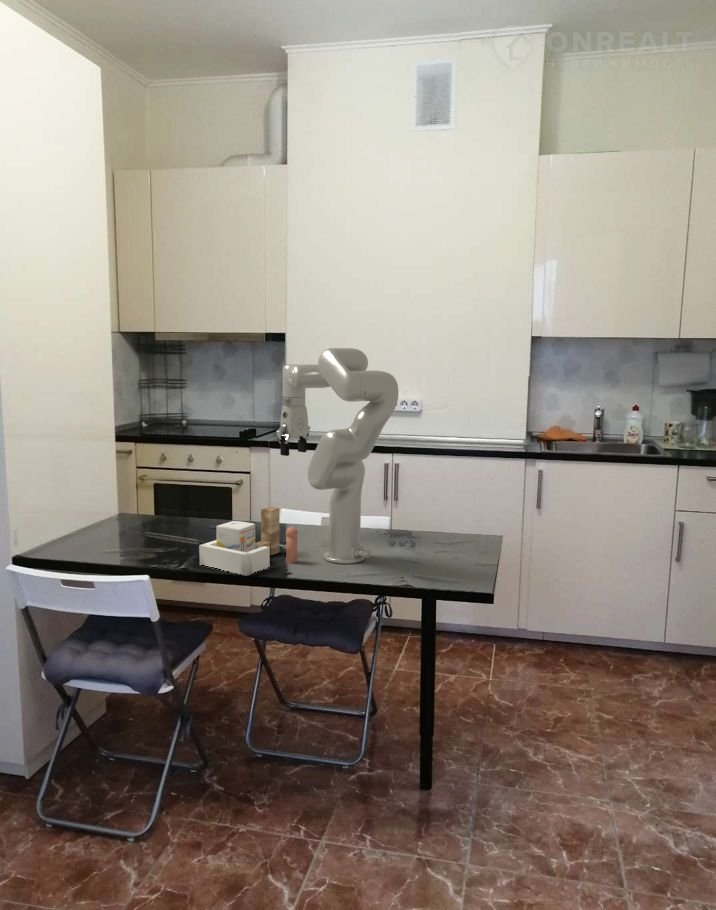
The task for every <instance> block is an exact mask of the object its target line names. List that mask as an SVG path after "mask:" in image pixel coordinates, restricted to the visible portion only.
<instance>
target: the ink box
mask: <svg viewBox="0 0 716 910" xmlns="http://www.w3.org/2000/svg"><path fill="white" fill-rule="evenodd" d="M215 528H216V530H215V531H216V539H215V540H217V541H216V542H217V547H222V548H227V549H232V550H237V551H242V552H249V551H251V550H254V549H255V543H256V523H254V522H253V523H252V522H246V521H240V520H237V521H236V520H231V521H229V522H226V523H225V522H224V523H222V524H219V525H216V527H215Z"/></svg>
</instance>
